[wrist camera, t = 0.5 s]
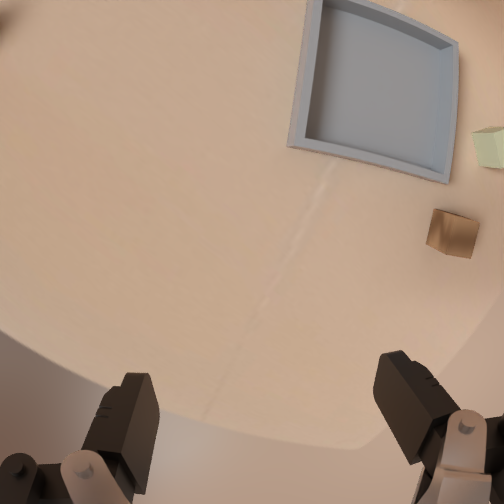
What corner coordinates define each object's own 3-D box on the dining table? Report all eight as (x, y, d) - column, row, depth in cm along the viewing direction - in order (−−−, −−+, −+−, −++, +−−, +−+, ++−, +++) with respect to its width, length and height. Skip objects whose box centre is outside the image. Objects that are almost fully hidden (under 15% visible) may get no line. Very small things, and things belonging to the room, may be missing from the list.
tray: (307, -1, 29) (315, -15, 25) (441, 48, 31) (458, 42, 27) (286, 146, 34) (293, 145, 30) (430, 181, 36) (448, 184, 32)
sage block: (470, 132, 35) (493, 132, 30) (490, 126, 34) (512, 126, 30) (478, 165, 36) (500, 168, 31) (497, 158, 36) (518, 160, 31)
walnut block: (433, 208, 38) (455, 215, 33) (458, 215, 38) (479, 222, 33) (425, 243, 39) (445, 254, 34) (450, 248, 39) (470, 258, 35)
